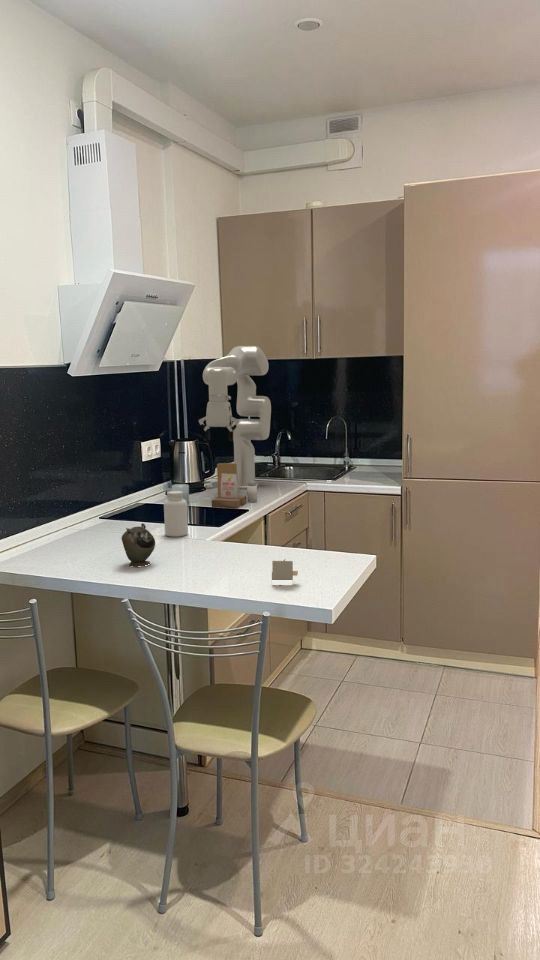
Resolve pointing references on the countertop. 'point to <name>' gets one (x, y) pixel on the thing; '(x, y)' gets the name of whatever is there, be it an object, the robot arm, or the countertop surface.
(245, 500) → the podium
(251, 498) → the salt shaker
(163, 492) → the countertop surface
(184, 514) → the pill bottle
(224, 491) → the tea bag
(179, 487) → the mug
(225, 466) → the sandwich container
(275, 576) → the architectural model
